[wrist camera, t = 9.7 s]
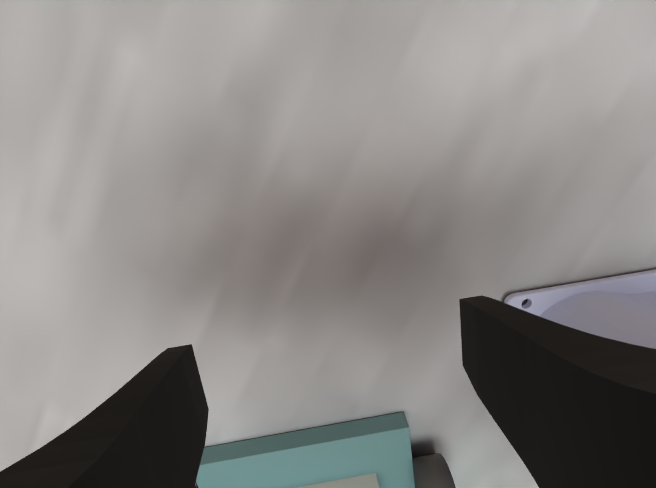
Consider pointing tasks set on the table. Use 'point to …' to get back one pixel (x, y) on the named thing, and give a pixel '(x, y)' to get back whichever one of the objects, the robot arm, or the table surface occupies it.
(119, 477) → the robot arm
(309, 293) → the table surface
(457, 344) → the table surface
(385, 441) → the chassis
